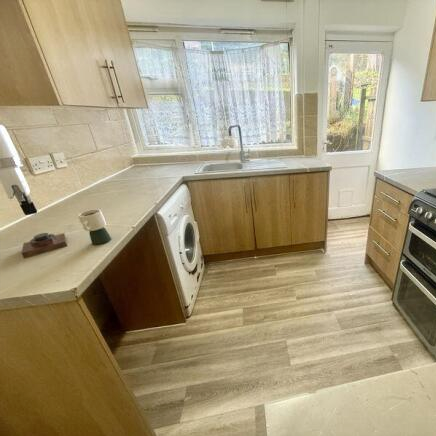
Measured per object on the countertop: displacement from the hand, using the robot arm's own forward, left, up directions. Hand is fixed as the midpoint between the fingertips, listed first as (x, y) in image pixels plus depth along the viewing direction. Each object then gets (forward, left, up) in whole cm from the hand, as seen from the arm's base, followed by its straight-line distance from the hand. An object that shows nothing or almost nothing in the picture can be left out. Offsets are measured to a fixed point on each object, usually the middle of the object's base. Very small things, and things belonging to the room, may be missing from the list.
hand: (31, 213), depth 89 cm
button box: (0, 0, -14) cm, 14 cm away
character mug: (+16, -11, -14) cm, 24 cm away
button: (0, 0, -11) cm, 11 cm away
